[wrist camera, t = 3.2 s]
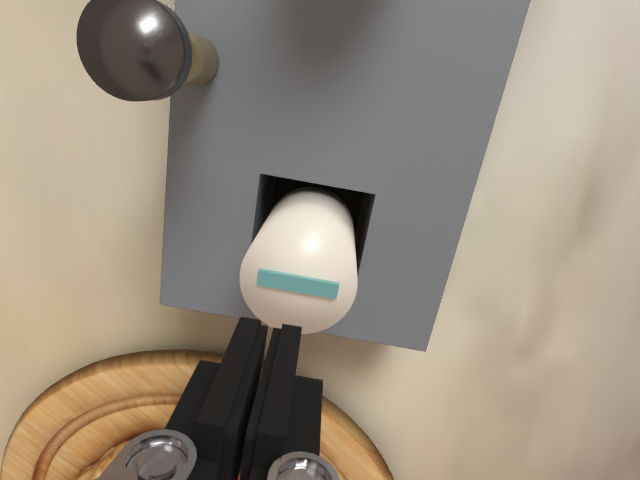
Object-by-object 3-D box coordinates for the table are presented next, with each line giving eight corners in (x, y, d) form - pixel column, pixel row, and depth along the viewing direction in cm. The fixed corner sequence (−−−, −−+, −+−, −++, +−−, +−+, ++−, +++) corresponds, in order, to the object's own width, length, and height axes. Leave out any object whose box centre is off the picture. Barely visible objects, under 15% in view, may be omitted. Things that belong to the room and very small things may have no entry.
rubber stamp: (234, 28, 18) (182, -2, 12) (227, 103, 19) (176, 109, 13) (162, 15, 18) (75, -21, 12) (159, 91, 19) (77, 92, 13)
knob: (361, 195, 22) (369, 240, 15) (344, 275, 23) (345, 346, 17) (274, 179, 21) (245, 217, 15) (263, 260, 23) (232, 326, 17)
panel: (532, -157, 20) (605, -252, 14) (409, 298, 28) (425, 351, 23) (235, -213, 20) (192, -330, 14) (196, 260, 28) (159, 304, 22)
